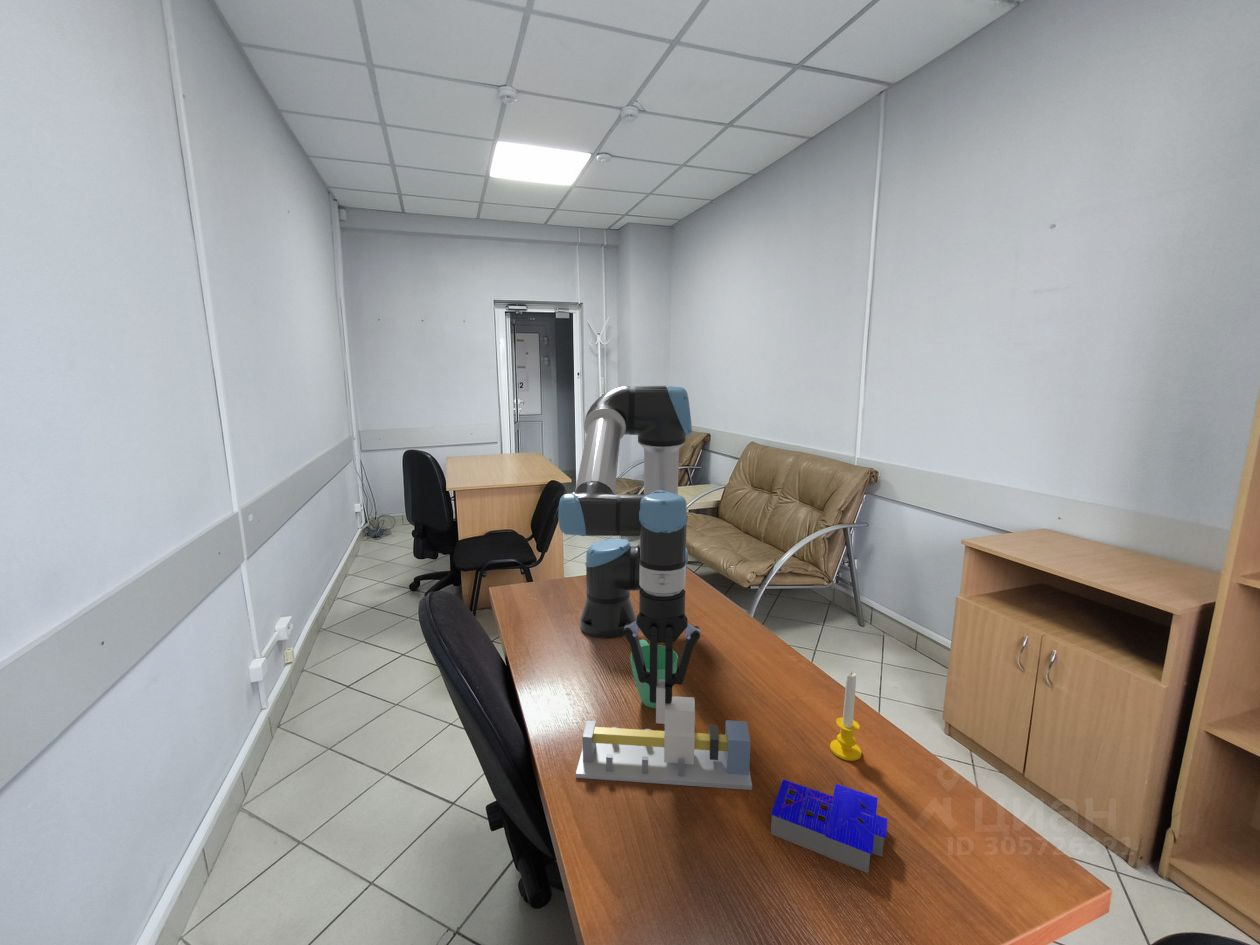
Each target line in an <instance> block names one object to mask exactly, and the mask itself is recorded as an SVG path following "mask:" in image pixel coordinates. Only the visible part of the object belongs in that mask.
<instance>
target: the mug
mask: <svg viewBox="0 0 1260 945" xmlns="http://www.w3.org/2000/svg"><path fill="white" fill-rule="evenodd" d="M639 642H640V646H641V650H642V654H643V658H644V662H645V666H646V670H647V672H650V643H648V641H647V639H639ZM629 660H630V665H631V671H632V672H631V673H632V676H633V679H634V682H635V687H636V688H637V693H638V695H639V697H640V700H641V702H642V704H643V705H644V706H646V707H647V708H651V709H656V703H651V702H650V686H649V684H648V683H645V682H644V683H641V682H640V681H639V678H638V674H637V670H636V666H635V662H634V659H633V655H632V652H631V653H630V658H629ZM678 664H679V655H678V653H677V652H676V651H675V650H674V649H673V674H674V673H676V671H677V668H678ZM657 674H658V675H657V679H664V680H665V645H661V644H658V668H657Z"/></svg>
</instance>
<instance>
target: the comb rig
mask: <svg viewBox="0 0 1260 945" xmlns="http://www.w3.org/2000/svg"><path fill="white" fill-rule="evenodd" d="M724 728H725V729H724V730H725V732H724V734H719V729H718V725H717V724H716V725H715V724H708V733H703V732H702V733H701V732H695V733H694V737H695V739H694V764H684V759H678V763H666V762H664V734H665V730H653V729H651V728H645V729H638V728H637V729H636V728H621V727H620V728H618V726H611V727H605V726H604V727H603V726H601V727H600V726H597V721H596V720H586V723H585V727H584V731H583V734H582V748H581V753H580V757H579V760H578V764H577V767H576V772H575V779H586V780H587V779H588V780H589V779H590V780H601V781H602V780H604V781H615V782H616V781H617V782H618V781H619V782H630V783H631V782H633V783H645V784H646V783H647V784H661V785H673V786H675V785H676V786H690V787H703V788H714V789H715V788H718V789H733V790H744V791H746V790H748V791H752V790H753V781H752V777H751V771H750V761H751V757H750V756H751V737H750V731H749V727H748V722H747V720H745V721H744V720H730V719H729V720H728V719H726V720H725V727H724Z"/></svg>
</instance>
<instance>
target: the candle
mask: <svg viewBox="0 0 1260 945" xmlns="http://www.w3.org/2000/svg"><path fill="white" fill-rule="evenodd" d="M856 684H857V673H855V672H853V671H851V672H848V673H847V675H846V680H845V691H844V703H843V711H842V712H843V714H842V716H841V717H838V718H836V721H835V723H836V725H837V726H838V727H839V728H840V731H839V732H840V733H838V734H837V736H836V739H833V740H832V741H831V742H830V745H829V747H830V750H831V753H832V754H833V755H834V756H836V757H837V758H839V759H841V760H844V761H847V762H855V761H858V760H860V759H861V757H862V753H863V752H862V749H861V748H860V746H859V745H858V744H857V739H856V738H855V737H854V735H855V733H854V732H857V731H859V730H860V728H861V726H860V724H859V722H858V721H856V720H854V715H855V712H854V711H855V699H856V698H855V697H856V687H857V686H856Z"/></svg>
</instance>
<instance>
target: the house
mask: <svg viewBox="0 0 1260 945" xmlns="http://www.w3.org/2000/svg"><path fill="white" fill-rule="evenodd" d="M878 799H879V797H878V796H874V795H871V794H868V793H864V792H862V791H859V790H855V789H853V788H851V787H847V786H844V785H841V784H839V783H835V786H834V790H833V795H830V794H827V793H825V792H822V791H818V790H816V789H814V788H813V789H812V788H810V787H807V786H805V785H800V784H798V783H795V782H792V781H790V780H786V779H784V778H783V779H782V780H781V784H780V787H779V790H778V793H777V795H776V799H775V802H774V804H773V807H772V809H771V810H772V811H771V813H770V816H771V819H770V820H771V821H770V822H771V823H770V835H772V836H775V837H776V838H780V839H782V840H785V841H787V842H789V843H792V844H794V845H797V846H800V847H802V848H804V849H808V850H809V851H813V852H815V853H817V854H820V855H822V856H825V857H826V858H829V859H831V860H833V861H836V862H839V863H842V864H844V865H846V866H849V867H851V868H853V869H856V870H859V871H861V872H864V873H866V874H869V871H870V862H871V855H876V856H878V857H881V858H883V853H884V844H885V840H887V832H888V818H886V817H883V816H880V815H877V808H878Z"/></svg>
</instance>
